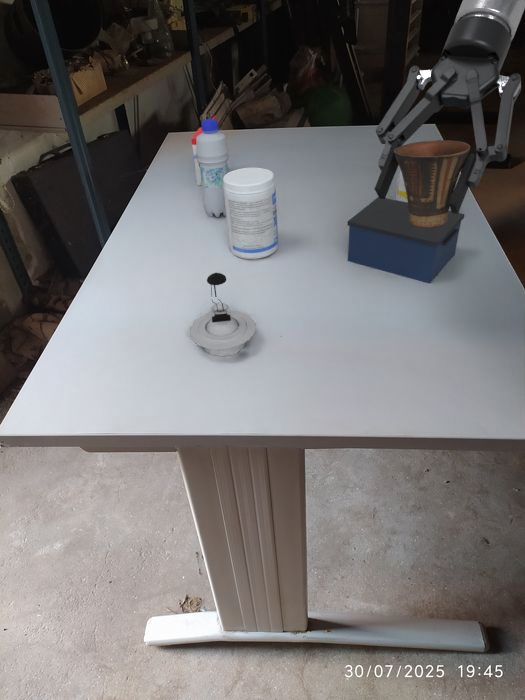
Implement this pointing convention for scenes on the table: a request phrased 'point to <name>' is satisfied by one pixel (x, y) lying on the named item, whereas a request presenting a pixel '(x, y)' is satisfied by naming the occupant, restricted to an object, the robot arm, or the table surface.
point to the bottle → (212, 166)
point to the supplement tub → (251, 212)
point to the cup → (430, 178)
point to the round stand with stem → (222, 326)
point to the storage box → (401, 241)
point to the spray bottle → (197, 165)
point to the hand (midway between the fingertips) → (415, 201)
